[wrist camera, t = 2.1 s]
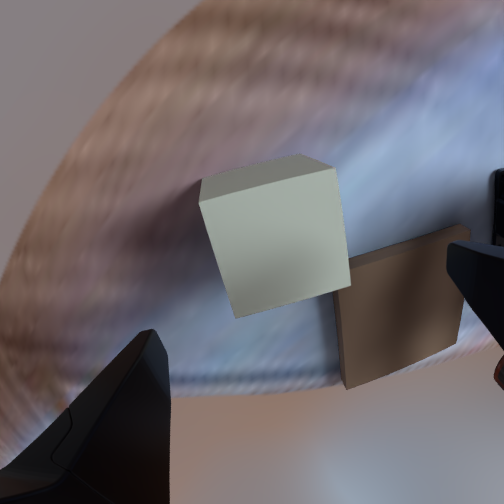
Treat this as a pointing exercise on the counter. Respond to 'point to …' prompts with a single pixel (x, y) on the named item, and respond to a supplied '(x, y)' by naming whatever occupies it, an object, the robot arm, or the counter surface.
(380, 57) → the counter surface
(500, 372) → the supplement bottle
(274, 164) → the cube
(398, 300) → the brown square tile
